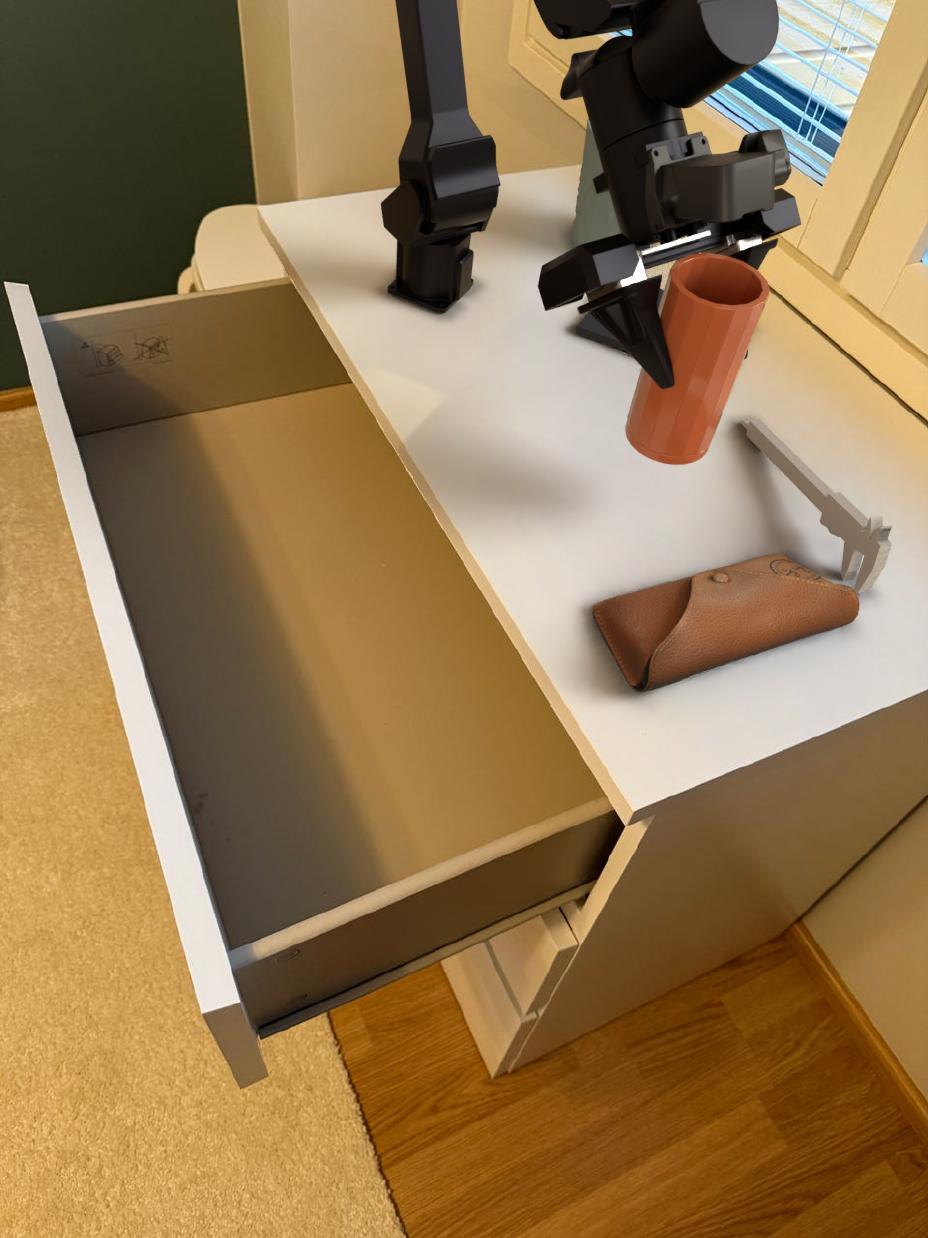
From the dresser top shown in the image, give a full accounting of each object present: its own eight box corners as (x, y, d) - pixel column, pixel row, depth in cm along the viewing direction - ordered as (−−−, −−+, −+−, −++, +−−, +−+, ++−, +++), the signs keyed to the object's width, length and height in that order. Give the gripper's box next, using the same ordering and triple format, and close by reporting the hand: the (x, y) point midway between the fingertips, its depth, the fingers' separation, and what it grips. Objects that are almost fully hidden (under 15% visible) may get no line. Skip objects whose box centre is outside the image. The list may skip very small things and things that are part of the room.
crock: (612, 444, 68) (656, 286, 58) (641, 398, 72) (688, 242, 62) (694, 476, 67) (754, 320, 57) (719, 427, 71) (780, 273, 61)
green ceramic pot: (560, 217, 102) (581, 102, 93) (650, 221, 103) (678, 108, 94) (573, 267, 96) (595, 149, 87) (667, 271, 97) (700, 156, 88)
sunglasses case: (783, 545, 72) (840, 524, 66) (813, 631, 72) (873, 618, 65) (582, 606, 67) (623, 589, 60) (613, 699, 66) (658, 692, 60)
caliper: (866, 596, 70) (904, 539, 66) (854, 598, 70) (890, 541, 65) (749, 422, 82) (773, 364, 77) (738, 424, 82) (762, 365, 77)
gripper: (602, 108, 50) (681, 393, 53) (837, 59, 57) (893, 311, 60) (501, 185, 59) (573, 420, 63) (713, 134, 67) (767, 347, 70)
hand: (704, 373), depth 64 cm, fingers closed on crock, 6 cm apart
